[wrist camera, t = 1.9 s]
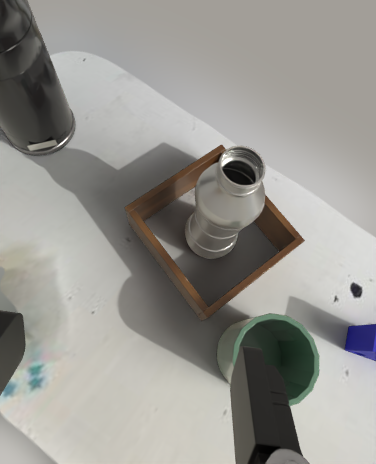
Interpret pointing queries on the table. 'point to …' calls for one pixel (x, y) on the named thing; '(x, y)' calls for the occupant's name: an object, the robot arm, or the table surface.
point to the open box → (137, 213)
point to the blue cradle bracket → (362, 340)
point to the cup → (274, 351)
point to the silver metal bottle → (226, 202)
